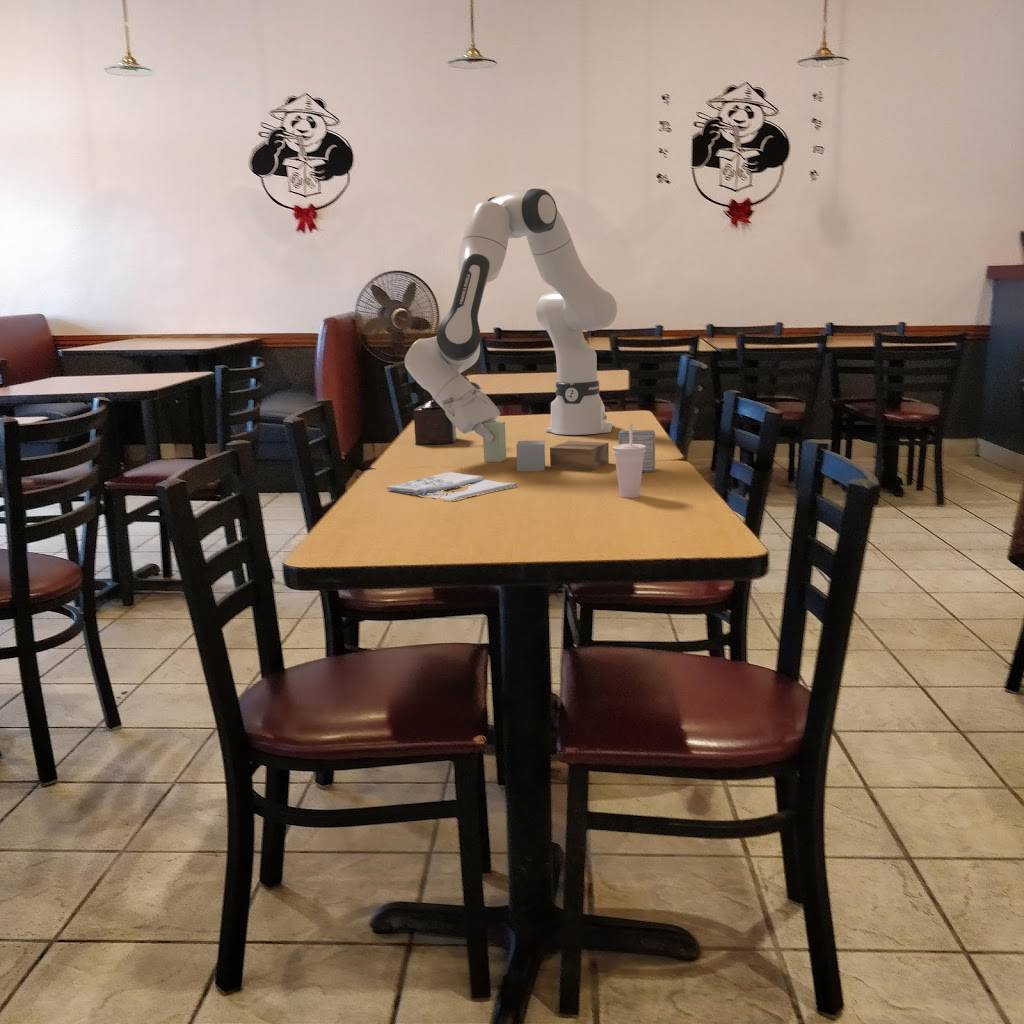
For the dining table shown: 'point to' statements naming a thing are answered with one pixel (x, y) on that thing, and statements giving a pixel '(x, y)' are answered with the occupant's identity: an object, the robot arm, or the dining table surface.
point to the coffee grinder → (433, 424)
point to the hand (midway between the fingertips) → (496, 437)
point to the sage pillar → (495, 442)
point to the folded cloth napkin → (449, 486)
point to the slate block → (531, 455)
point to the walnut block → (579, 455)
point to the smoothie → (629, 467)
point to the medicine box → (645, 439)
